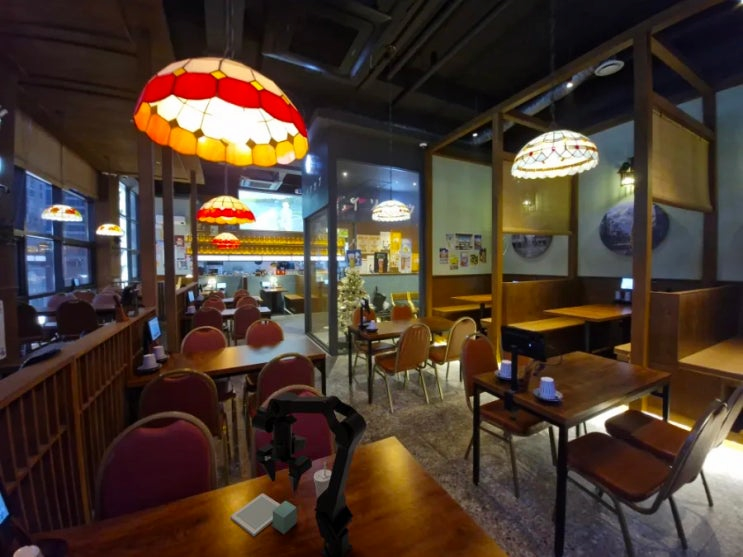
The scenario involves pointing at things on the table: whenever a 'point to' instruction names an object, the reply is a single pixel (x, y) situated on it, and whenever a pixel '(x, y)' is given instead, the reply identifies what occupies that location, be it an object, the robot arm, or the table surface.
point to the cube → (284, 517)
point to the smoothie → (322, 480)
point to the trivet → (255, 514)
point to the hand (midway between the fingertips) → (284, 485)
